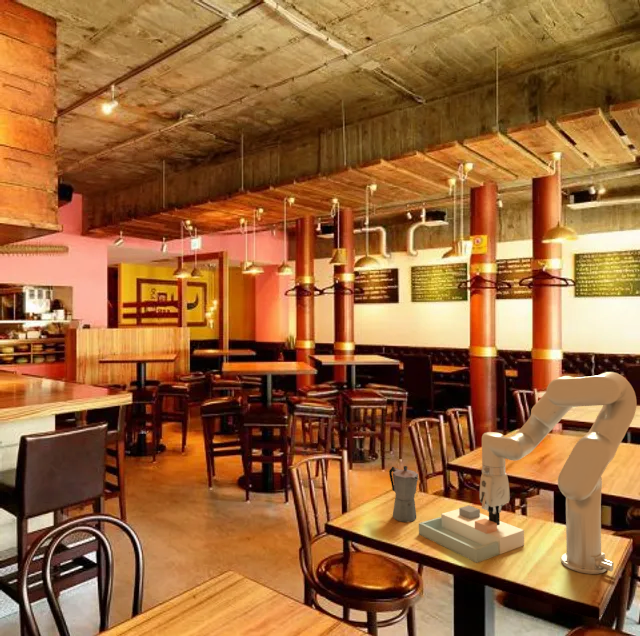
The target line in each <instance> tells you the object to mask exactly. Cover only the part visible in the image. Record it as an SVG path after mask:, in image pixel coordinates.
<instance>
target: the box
mask: <svg viewBox="0 0 640 636" xmlns="http://www.w3.org/2000/svg"><path fill="white" fill-rule="evenodd" d="M418 535H419V536H421V537H423V538H425V539H427V540H429V541H431V542H433V541H434V543H435V542H436V543H435V544H437V545H439V546H442V547H443V548H446V549H448V550H450V551H452V552H454V553H456V554H458V555H460V556H462V557H464V558H466V559H468V560H469V561H472V562H474V563H479V562H480V563H481V562H482V561H485V560H486V561H487V560H488V559H491V558H493V557H496V556H498V555H501V554H500V553H499V552H498V542H497V541H495V542H492V543H489V544H486V545H481V544H479V543H477V542H474V541H472V540H470V539H468V538H465V537H463V536H461V535H459V534H457V533H454V532H452V531H450V530H448V529H445V528H443V527H442V518H441V516H440V517H436V518H432V519H428V520H424V521H421V522H419V523H418Z"/></svg>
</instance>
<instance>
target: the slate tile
mask: <svg viewBox="0 0 640 636" xmlns="http://www.w3.org/2000/svg"><path fill="white" fill-rule="evenodd" d="M458 509H459V515H460V516H463V517H465V518H468V519H473V518H476V517H480V513H481V510H480V508H478V507H474V506H471V505H470V504H469V505H466V506H462V507H459V508H458Z"/></svg>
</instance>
